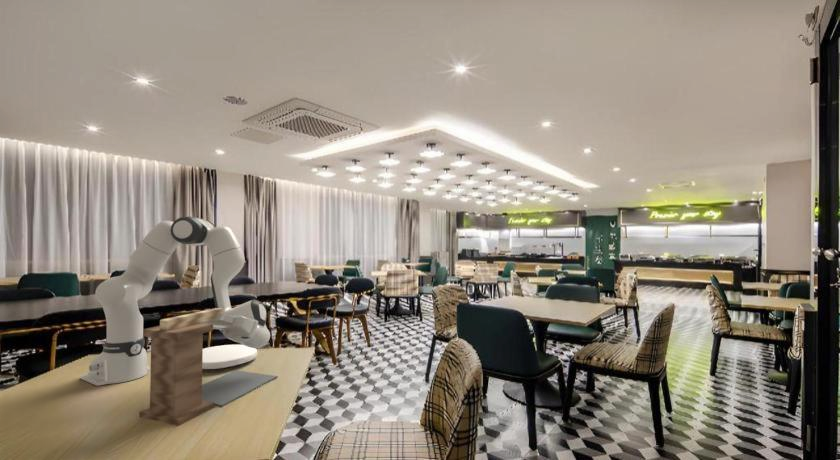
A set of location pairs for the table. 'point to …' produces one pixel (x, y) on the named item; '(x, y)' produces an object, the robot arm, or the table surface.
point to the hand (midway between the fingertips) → (209, 315)
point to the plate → (226, 356)
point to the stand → (176, 374)
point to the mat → (233, 386)
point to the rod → (190, 319)
